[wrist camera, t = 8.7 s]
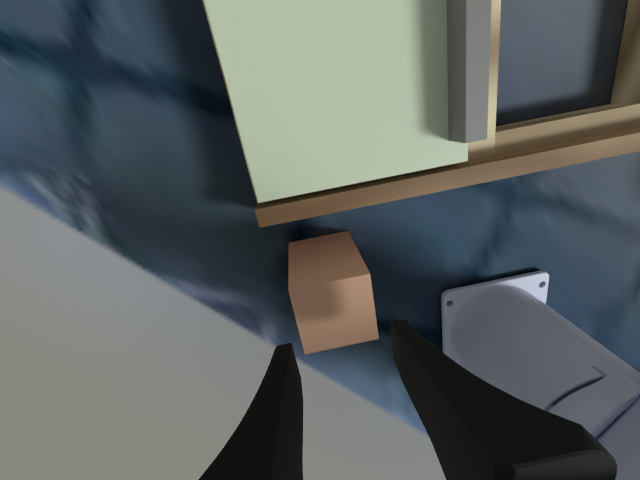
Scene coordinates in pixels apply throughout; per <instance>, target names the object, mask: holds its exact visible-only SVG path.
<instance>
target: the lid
mask: <svg viewBox="0 0 640 480" xmlns="http://www.w3.org/2000/svg"><path fill="white" fill-rule="evenodd" d="M204 2H205V6H206V10H207V13H208V17H209V21H210V25H211V28H212V32H213V36H214V39H215V43H216V47H217V51H218V54H219V58H220V62H221V66H222V69H223V73H224V77H225V81H226V84H227V88H228V92H229V96H230V99H231V103H232V107H233V110H234V114H235V118H236V122H237V125H238V129H239V133H240V137H241V140H242V144H243V148H244V152H245V155H246V159H247V163H248V167H249V170H250V174H251V178H252V182H253V185H254V189H255V193H256V196H257V200H258V203H261V202H266V201H271V200H276V199H281V198H286V197H291V196H296V195H301V194H306V193H311V192H316V191H321V190H326V189H331V188H336V187H341V186H346V185H351V184H356V183H360V182H365V181H370V180H375V179H380V178H385V177H390V176H395V175H400V174H405V173H410V172H415V171H420V170H425V169H430V168H435V167H440V166H445V165H450V164H455V163H460V162H465V161H468V143H470V142H475V141H480V140H485V139H487V126H488V95H489V64H490V33H491V2H492V0H204Z"/></svg>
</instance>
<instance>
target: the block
mask: <svg viewBox="0 0 640 480" xmlns="http://www.w3.org/2000/svg"><path fill="white" fill-rule="evenodd" d="M288 291H289V295H290V299H291V303H292V307H293V311H294V314H295V318H296V322H297V326H298V330H299V334H300V338H301V342H302V345H303V349H304V353H305V354H309V353H314V352H319V351H324V350H329V349H333V348H338V347H343V346H348V345H352V344H357V343H362V342H367V341H371V340H376V339H379V336H378V328H377V321H376V313H375V306H374V298H373V291H372V283H371V275H370V272H369V270H368V268H367V266H366V264H365V262H364V261H363V259H362V257H361V255H360V253H359V251H358V249H357V247H356V245H355V243H354V241H353V239H352V237H351V235H350V233H349V231H344V232H339V233H334V234H329V235H324V236H319V237H314V238H309V239H304V240H300V241H295V242H290V243H289V265H288Z"/></svg>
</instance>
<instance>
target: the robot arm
mask: <svg viewBox="0 0 640 480" xmlns="http://www.w3.org/2000/svg"><path fill="white" fill-rule="evenodd" d="M548 282H549V274H548V273H547V272H545V271H543V270H540V271H535V272H530V273H526V274H521V275H516V276H511V277H506V278H502V279H497V280H492V281H487V282H482V283H478V284H473V285H468V286H463V287H458V288H454V289H449V290H446V291H444V292H443V293H442V295H441V313H442V347H443V352H442V351H440V350H439V349H438V348H437V347H435V346H434V345H433V344H432V343H430V342H429V341H428V340H427V339H426V338H425V337H423V336H422V335H421V334H420V333H419V332H418V331H417V330H415V329H414V328H413V327H412V326H411V325H410V324H409V323H408V322H407V321H406V320H404V319H403V320H398V321H394V322H390V327H391V336H392V345H393V354H394V360H395V363H396V366H397V368H398V371H399V374H400V377H401V379H402V382H403V384H404V386H405V388H406V390H407V392H408V394H409V396H410V398H411V400H412V402H413V404H414V406H415V408H416V410H417V412H418V414H419V416H420V418H421V421H422V423H423V425H424V427H425V429H426V431H427V433H428V435H429V437H430V439H431V442H432V444H433V446H434V449H435V452H436V454H437V457H438V459H439V462H440V464H441V467H442V469H443V472H444V475H445V477H446V480H640V373H639V372H638V371H636V370H635V369H633V368H632V367H631V366H629V365H628V364H627V363H625V362H624V361H622V360H621V359H620V358H618V357H617V356H616V355H614V354H613V353H612V352H610V351H609V350H607V349H606V348H605V347H603V346H602V345H601V344H599V343H598V342H597V341H595V340H594V339H592V338H591V337H590V336H588V335H587V334H586V333H584V332H583V331H582V330H580V329H579V328H577V327H576V326H575V325H573V324H572V323H571V322H569V321H568V320H566V319H565V318H564V317H562V316H561V315H560V314H558V313H557V312H556V311H554V310H553V309H551V308H550V307H549V306H547V305H546V297H547V290H548ZM448 301H451V302H450V303H448V304H447V302H448ZM302 444H303V395H302V384H301V377H300V373H299V369H298V366H297V362H296V358H295V355H294V351H293V347H292V344H291V343H288V344H284V345H279V346H277V347H276V348H275V351H274V354H273V357H272V359H271V362H270V365H269V367H268V369H267V372H266V374H265V376H264V378H263V381H262V383H261V385H260V387H259V389H258V392H257V393H256V395H255V397H254V399H253V401H252V403H251V405H250V407H249V409H248V410H247V412H246V414H245V416H244V417H243V419H242V421H241V422H240V424H239V425H238V427H237V429H236V430H235V432H234V433H233V435H232V436H231V438H230V439H229V440H228V442H227V443H226V445H225V446H224V448H223V449H222V451H221V452H220V453H219V455H218V456H217V457H216V459H215V460H214V461H213V462H212V464H211V465H210V466H209V467H208V469H207V470H206V471H205V472H204V474H203V475H202V476H201V478H200V479H199V480H303V469H302V446H303V445H302Z"/></svg>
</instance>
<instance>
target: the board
mask: <svg viewBox="0 0 640 480" xmlns="http://www.w3.org/2000/svg"><path fill="white" fill-rule="evenodd" d="M202 1H203V4H204V8H205V12H206V16H207V19H208V23H209V27H210V30H211V34H212V38H213V42H214V45H215V49H216V53H217V56H218V60H219V64H220V68H221V71H222V75H223V79H224V82H225V86H226V90H227V94H228V97H229V101H230V105H231V108H232V112H233V116H234V120H235V123H236V127H237V131H238V134H239V138H240V142H241V146H242V149H243V153H244V157H245V160H246V164H247V168H248V172H249V175H250V179H251V183H252V186H253V190H254V194H255V198H256V201H257V205H256V207H255V213H256V217H257V221H258V224H259V228H261V227H266V226H271V225H276V224H281V223H286V222H291V221H296V220H301V219H306V218H311V217H316V216H321V215H326V214H331V213H336V212H340V211H345V210H350V209H355V208H360V207H365V206H370V205H375V204H380V203H385V202H390V201H395V200H400V199H405V198H410V197H415V196H420V195H425V194H430V193H435V192H440V191H445V190H449V189H454V188H459V187H464V186H469V185H474V184H479V183H484V182H489V181H494V180H499V179H504V178H509V177H514V176H519V175H524V174H529V173H534V172H539V171H544V170H549V169H554V168H558V167H563V166H568V165H573V164H578V163H583V162H588V161H593V160H598V159H603V158H608V157H613V156H618V155H623V154H628V153H633V152H638V151H640V0H628V5H627V11H626V17H625V22H624V28H623V34H622V39H621V45H620V51H619V57H618V62H617V68H616V74H615V80H614V85H613V91H612V97H611V102H610V104H607V105H602V106H597V107H592V108H587V109H582V110H577V111H572V112H567V113H562V114H557V115H552V116H547V117H542V118H537V119H531V120H526V121H521V122H516V123H511V124H506V125H501V126H496V107H497V83H498V59H499V35H500V12H501V0H492V2H491V33H490V64H489V95H488V126H487V139H485V140H480V141H475V142H470V143H468V161H465V162H460V163H455V164H450V165H445V166H440V167H435V168H430V169H425V170H420V171H415V172H410V173H405V174H400V175H395V176H390V177H385V178H380V179H375V180H370V181H365V182H360V183H356V184H351V185H346V186H341V187H336V188H331V189H326V190H321V191H316V192H311V193H306V194H301V195H296V196H291V197H286V198H281V199H276V200H271V201H266V202H261V203H258V200H257V196H256V193H255V189H254V185H253V182H252V178H251V174H250V170H249V167H248V163H247V159H246V155H245V152H244V148H243V144H242V140H241V137H240V133H239V129H238V125H237V122H236V118H235V114H234V110H233V107H232V103H231V99H230V96H229V92H228V88H227V84H226V81H225V77H224V73H223V69H222V66H221V62H220V58H219V54H218V51H217V47H216V43H215V39H214V36H213V32H212V28H211V25H210V21H209V17H208V13H207V10H206V6H205V2H204V0H202Z"/></svg>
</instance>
